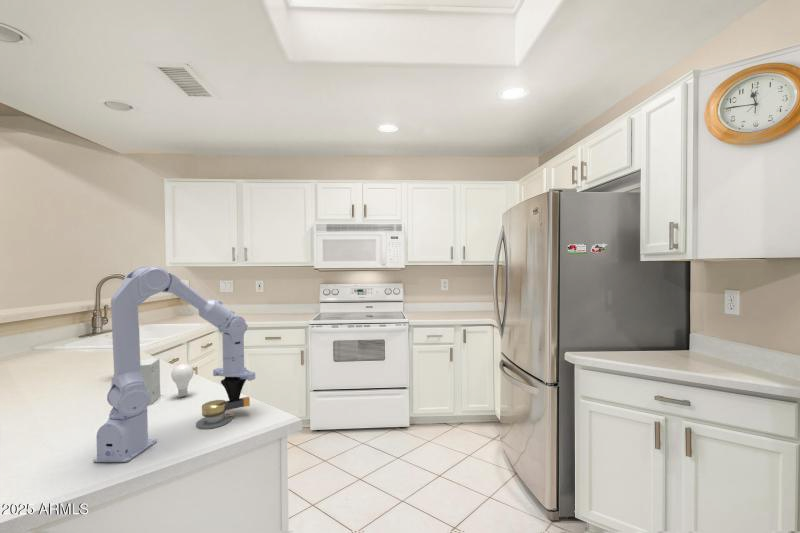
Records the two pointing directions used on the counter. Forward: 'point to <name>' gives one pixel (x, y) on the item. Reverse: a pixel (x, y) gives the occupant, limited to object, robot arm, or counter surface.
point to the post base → (210, 426)
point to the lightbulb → (182, 378)
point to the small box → (151, 377)
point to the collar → (223, 406)
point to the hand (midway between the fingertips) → (234, 402)
